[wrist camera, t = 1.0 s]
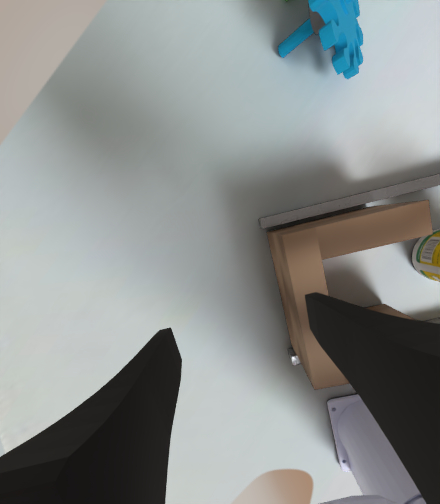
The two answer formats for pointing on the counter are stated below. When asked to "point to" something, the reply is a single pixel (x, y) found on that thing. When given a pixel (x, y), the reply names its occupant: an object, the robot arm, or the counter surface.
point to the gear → (332, 33)
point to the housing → (312, 273)
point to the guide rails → (347, 203)
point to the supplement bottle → (428, 256)
